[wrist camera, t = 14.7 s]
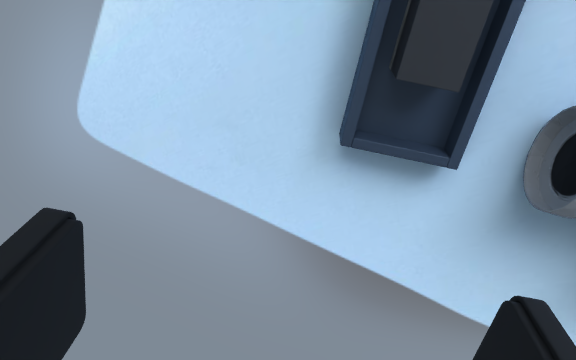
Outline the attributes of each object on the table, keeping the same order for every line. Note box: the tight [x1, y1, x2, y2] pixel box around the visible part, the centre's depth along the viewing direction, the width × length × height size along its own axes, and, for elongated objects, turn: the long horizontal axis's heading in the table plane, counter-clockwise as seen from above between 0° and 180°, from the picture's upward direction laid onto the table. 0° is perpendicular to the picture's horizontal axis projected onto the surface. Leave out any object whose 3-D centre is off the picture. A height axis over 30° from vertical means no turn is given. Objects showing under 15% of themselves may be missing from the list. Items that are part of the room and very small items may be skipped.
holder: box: [339, 0, 526, 170], centre depth 29 cm, size 9×20×2 cm, turn 169°
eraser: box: [389, 0, 494, 92], centre depth 28 cm, size 4×8×4 cm, turn 169°
